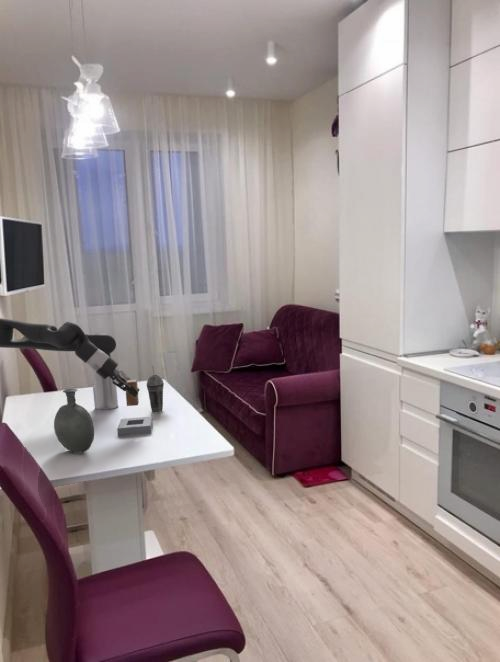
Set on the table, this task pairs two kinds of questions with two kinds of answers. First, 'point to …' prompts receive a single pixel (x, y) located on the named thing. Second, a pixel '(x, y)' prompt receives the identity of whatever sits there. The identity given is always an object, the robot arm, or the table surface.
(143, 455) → the table surface
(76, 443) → the flask
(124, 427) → the socket
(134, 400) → the peg
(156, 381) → the beverage cup
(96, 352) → the robot arm
